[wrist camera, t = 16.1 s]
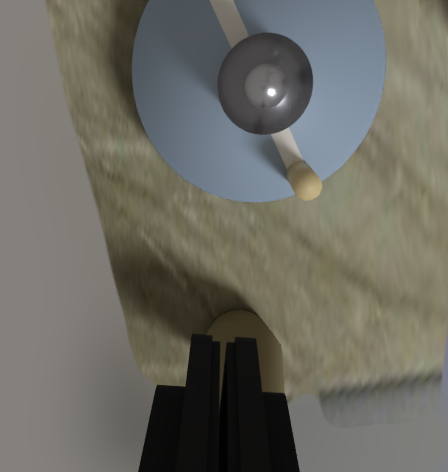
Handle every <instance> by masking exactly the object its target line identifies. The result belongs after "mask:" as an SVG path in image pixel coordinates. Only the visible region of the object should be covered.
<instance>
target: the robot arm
mask: <svg viewBox="0 0 448 472" xmlns="http://www.w3.org/2000/svg"><path fill="white" fill-rule="evenodd" d="M219 398H220V341H212V335H204V334H192V337H191V346H190V354H189V362H188V370H187V379H186V387H182V386H167V385H157V387H156V390H155V395H154V399H153V404H152V409H151V414H150V418H149V423H148V428H147V433H146V437H145V442H144V447H143V452H142V456H141V461H140V466H139V471H138V472H300V471H299V465H298V460H297V454H296V449H295V443H294V438H293V432H292V428H291V421H290V416H289V410H288V405H287V400H286V396H285V394H284V393H276V392H262V384H261V375H260V366H259V357H258V349H257V341H256V338H248V337H235V340H234V342H227V343H226V352H225V361H224V371H223V380H222V390H221V399H220V409H219Z"/></svg>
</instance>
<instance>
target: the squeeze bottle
mask: <svg viewBox="0 0 448 472" xmlns="http://www.w3.org/2000/svg"><path fill="white" fill-rule="evenodd" d="M205 335H212V341H220V398H219V409H220V399H221V390H222V380H223V371H224V361H225V352H226V343H227V342H234V340H235V337H248V338H256V341H257V349H258V357H259V366H260V375H261V384H262V392H276V393H284V375H283V357H282V350H281V344H280V343H279V342H278V340H277V339H276V337H275V336H274V334H273V333H272V332H271V330H270V329H269V328H268V327H267V325H266V324H265V323H264V322H263V320H262V319H261V318H260V317H258V316H257V315H255V314H254V313H252V312H249V311H244V310H235V311H228V312H226V313H224V314H222V315H220V316H219V317H218V318H217V319H216V320H215V321H214V322H213V324H212V325H211V326H210V328H209V330H208V331H207V333H206V334H205Z"/></svg>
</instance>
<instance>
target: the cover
mask: <svg viewBox="0 0 448 472" xmlns="http://www.w3.org/2000/svg"><path fill="white" fill-rule="evenodd" d="M217 90H218V97H219V101H220V104H221V106H222V109H223V111H224V112H225V114H226V115H227V117H228V118H229V119H230V120H231V121H232V122H233V123H234V124H235V125H236V126H237V127H239V128H240V129H242V130H244V131H246V132H249V133H253V134H258V135H269V134H274V133H278V132H280V131H283V130H285V129H287V128H288V127H290V126H291V125H293V124H294V123H295V122H296V121H297V120H298V119H299V118H300V117H301V116H302V114H303V113H304V111H305V110H306V108H307V106H308V104H309V102H310V99H311V95H312V90H313V73H312V68H311V65H310V62H309V60H308V58H307V56H306V54H305V53H304V51H303V50H302V49H301V47H300V46H299V45H298V44H296V43H295V42H294V41H293V40H291V39H290V38H288V37H286V36H283V35H280V34H277V33H258V34H254V35H251V36H249V37H247V38H245V39H243V40H241V41H240V42H238V43H237V44H236V45H235V46H234V47H233V48H232V49H231V50H230V51H229V53H228V54H227V55H226V57H225V59H224V61H223V63H222V65H221V68H220V70H219V75H218V82H217Z"/></svg>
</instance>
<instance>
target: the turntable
mask: <svg viewBox="0 0 448 472" xmlns="http://www.w3.org/2000/svg"><path fill="white" fill-rule="evenodd" d="M258 33H277V34H280V35H283V36H286V37H288V38H290V39H291V40H293V41H294V42H295V43H296V44H298V45H299V46H300V47H301V49H302V50H303V51H304V53H305V54H306V56H307V58H308V60H309V62H310V65H311V68H312V73H313V90H312V95H311V99H310V102H309V104H308V106H307V108H306V110H305V111H304V113H303V114H302V116H301V117H300V118H299V119H298V120H297V121H296V122H295V123H294V124H293V125H291V126H290V127H288V128H287V129H285V130H283V131H280V132H278V133H274V134H269V135H258V134H253V133H249V132H246V131H244V130H242V129H240V128H239V127H237V126H236V125H235V124H234V123H233V122H232V121H231V120H230V119H229V118H228V117H227V115H226V114H225V112H224V111H223V109H222V106H221V104H220V101H219V97H218V90H217V82H218V75H219V70H220V68H221V65H222V63H223V61H224V59H225V57H226V55H227V54H228V53H229V51H230V50H231V49H232V48H233V47H234V46H235V45H236V44H237V43H238V42H240V41H241V40H243V39H245V38H247V37H249V36H251V35H254V34H258ZM385 72H386V49H385V40H384V33H383V29H382V25H381V21H380V17H379V14H378V12H377V9H376V7H375V4H374V1H373V0H149V1H148V3H147V5H146V7H145V10H144V12H143V14H142V17H141V19H140V22H139V25H138V29H137V33H136V36H135V41H134V48H133V55H132V84H133V94H134V98H135V102H136V107H137V111H138V114H139V116H140V119H141V122H142V125H143V127H144V129H145V131H146V133H147V135H148V137H149V139H150V141H151V143H152V144H153V146H154V147H155V149H156V150H157V152H158V153H159V154H160V156H161V157H162V158H163V159H164V160H165V161H166V163H167V164H168V165H169V166H170V167H171V168H172V169H173V170H174V171H176V172H177V173H178V174H179V175H180V176H181V177H183V178H184V179H185V180H187V181H188V182H190V183H191V184H193V185H194V186H196V187H198V188H200V189H202V190H204V191H206V192H208V193H210V194H213V195H216V196H218V197H222V198H226V199H230V200H234V201H243V202H266V201H274V200H279V199H283V198H287V197H291V196H294V195H296V196H297V197H298V198H299V199H302V200H312V199H314V198H316V197H317V196H318V195H319V194H320V192H321V190H322V181H323V180H325V179H326V178H328V177H329V176H330V175H332V174H333V173H334V172H335V171H336V170H338V169H339V168H340V167H341V166H342V165H343V164H344V163H345V162H346V161H347V160H348V159H349V157H350V156H351V155H352V154H353V153H354V152H355V150H356V149H357V148H358V146H359V145H360V143H361V142H362V140H363V139H364V137H365V136H366V134H367V132H368V130H369V128H370V126H371V124H372V122H373V120H374V117H375V115H376V112H377V110H378V107H379V104H380V100H381V96H382V92H383V87H384V80H385Z"/></svg>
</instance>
